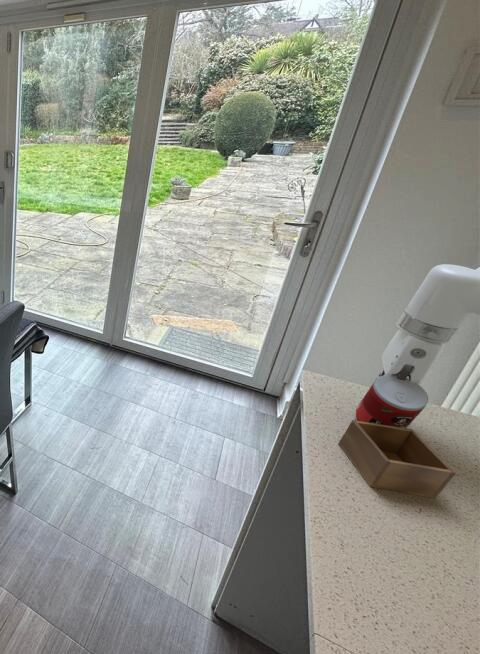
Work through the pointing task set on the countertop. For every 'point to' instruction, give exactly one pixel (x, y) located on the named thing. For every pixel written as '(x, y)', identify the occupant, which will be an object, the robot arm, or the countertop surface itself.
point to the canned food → (392, 402)
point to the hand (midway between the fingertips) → (377, 397)
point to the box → (395, 459)
